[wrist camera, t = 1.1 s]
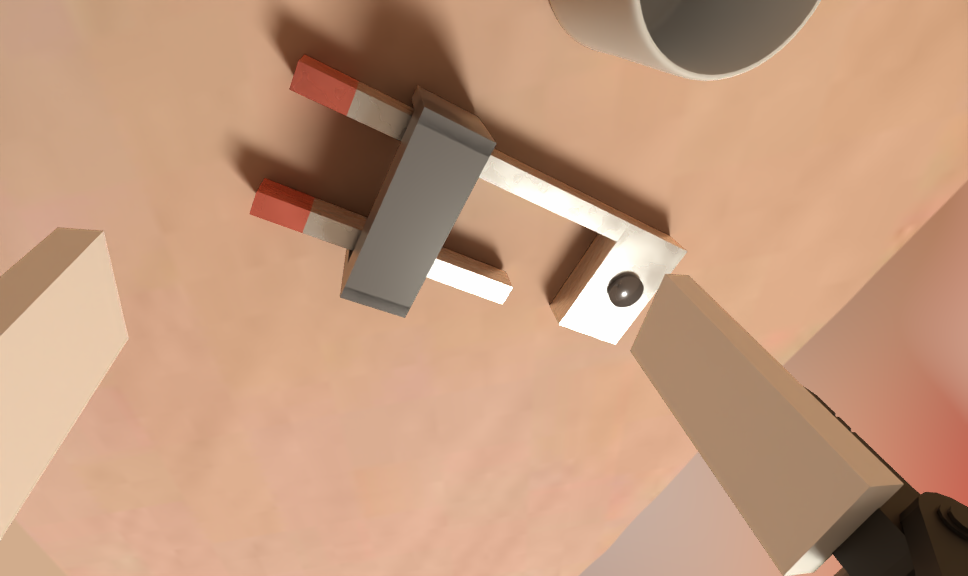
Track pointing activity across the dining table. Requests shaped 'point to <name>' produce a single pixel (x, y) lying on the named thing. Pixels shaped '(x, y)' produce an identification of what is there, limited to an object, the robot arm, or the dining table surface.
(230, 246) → the dining table surface
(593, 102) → the dining table surface
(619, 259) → the base
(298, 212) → the red-tipped stick
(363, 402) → the dining table surface
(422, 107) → the grey rectangular block
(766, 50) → the mug
